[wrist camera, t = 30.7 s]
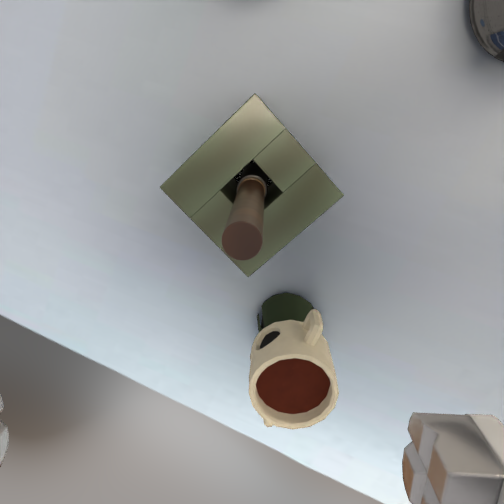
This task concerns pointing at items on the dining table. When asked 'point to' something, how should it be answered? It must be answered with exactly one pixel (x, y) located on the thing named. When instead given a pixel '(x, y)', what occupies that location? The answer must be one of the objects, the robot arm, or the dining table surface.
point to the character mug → (291, 365)
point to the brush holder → (275, 167)
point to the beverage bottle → (489, 25)
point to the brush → (246, 215)
